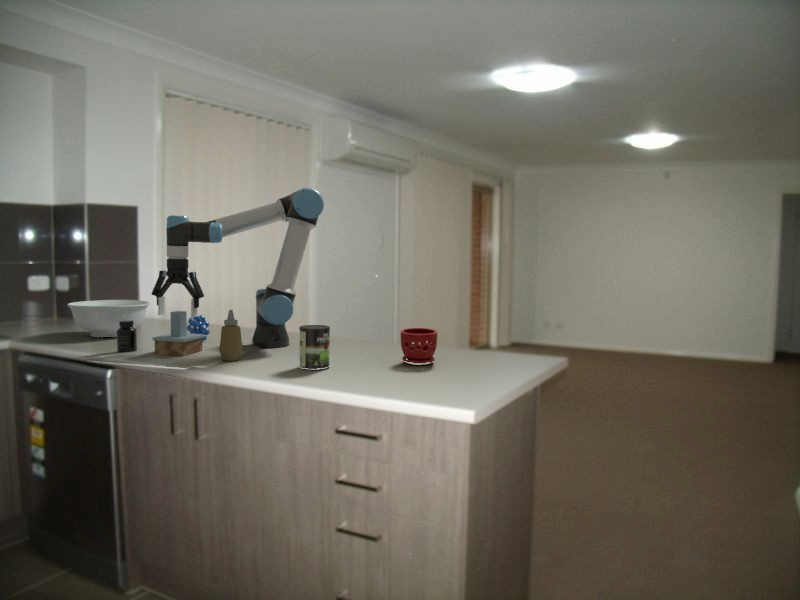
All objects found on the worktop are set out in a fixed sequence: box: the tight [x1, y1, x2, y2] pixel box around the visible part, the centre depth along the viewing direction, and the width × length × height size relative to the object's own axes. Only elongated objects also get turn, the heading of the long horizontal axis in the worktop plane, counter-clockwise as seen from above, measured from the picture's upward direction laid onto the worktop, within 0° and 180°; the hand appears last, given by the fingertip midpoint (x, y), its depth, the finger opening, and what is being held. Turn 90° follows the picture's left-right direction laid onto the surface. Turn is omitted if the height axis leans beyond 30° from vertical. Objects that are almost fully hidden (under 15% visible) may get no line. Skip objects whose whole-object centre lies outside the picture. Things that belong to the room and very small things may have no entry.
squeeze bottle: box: [219, 309, 243, 362], centre depth 220 cm, size 8×8×18 cm
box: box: [154, 338, 203, 357], centre depth 229 cm, size 12×12×6 cm
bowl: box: [67, 299, 151, 339], centre depth 270 cm, size 32×32×15 cm
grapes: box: [187, 313, 211, 342], centre depth 256 cm, size 12×7×12 cm, turn 151°
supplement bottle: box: [116, 320, 138, 353], centre depth 230 cm, size 7×7×12 cm
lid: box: [152, 310, 204, 342], centre depth 228 cm, size 13×13×10 cm
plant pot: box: [400, 327, 438, 363], centre depth 220 cm, size 13×13×12 cm
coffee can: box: [298, 324, 331, 369], centre depth 209 cm, size 10×10×14 cm
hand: (177, 315), depth 228 cm, fingers open, 13 cm apart
